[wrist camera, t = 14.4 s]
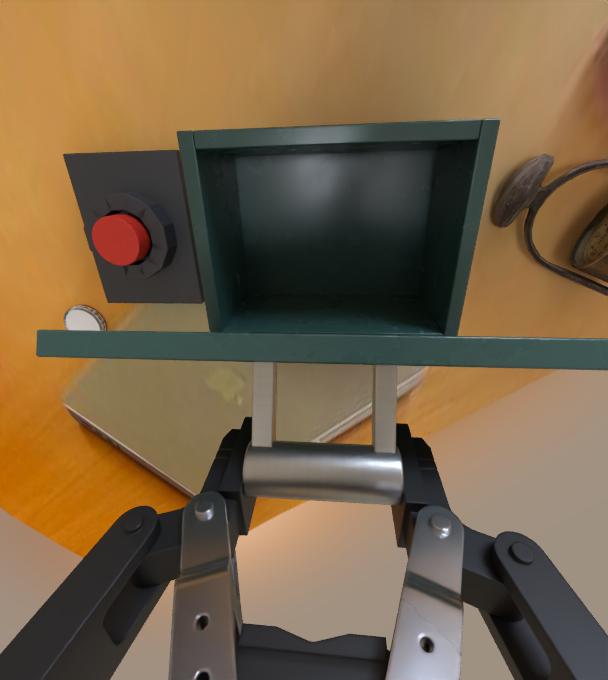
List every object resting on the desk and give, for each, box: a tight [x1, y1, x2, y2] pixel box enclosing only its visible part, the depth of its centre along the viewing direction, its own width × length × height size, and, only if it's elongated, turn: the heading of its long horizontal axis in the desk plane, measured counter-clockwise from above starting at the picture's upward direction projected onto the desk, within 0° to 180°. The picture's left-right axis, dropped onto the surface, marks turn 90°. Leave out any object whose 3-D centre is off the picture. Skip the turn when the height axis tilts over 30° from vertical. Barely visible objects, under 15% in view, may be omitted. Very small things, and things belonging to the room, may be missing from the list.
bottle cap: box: [64, 305, 106, 331], centre depth 34 cm, size 4×4×1 cm
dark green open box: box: [177, 118, 500, 336], centre depth 24 cm, size 13×17×9 cm
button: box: [92, 214, 151, 266], centre depth 25 cm, size 4×4×2 cm
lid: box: [36, 330, 608, 505], centre depth 16 cm, size 14×17×5 cm
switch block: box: [63, 150, 205, 303], centre depth 28 cm, size 12×9×4 cm
